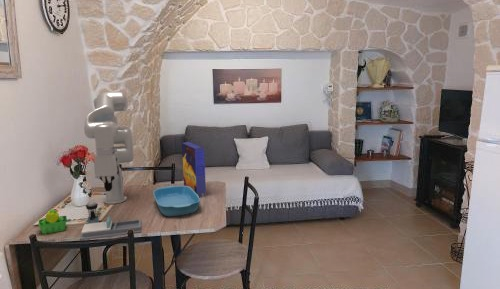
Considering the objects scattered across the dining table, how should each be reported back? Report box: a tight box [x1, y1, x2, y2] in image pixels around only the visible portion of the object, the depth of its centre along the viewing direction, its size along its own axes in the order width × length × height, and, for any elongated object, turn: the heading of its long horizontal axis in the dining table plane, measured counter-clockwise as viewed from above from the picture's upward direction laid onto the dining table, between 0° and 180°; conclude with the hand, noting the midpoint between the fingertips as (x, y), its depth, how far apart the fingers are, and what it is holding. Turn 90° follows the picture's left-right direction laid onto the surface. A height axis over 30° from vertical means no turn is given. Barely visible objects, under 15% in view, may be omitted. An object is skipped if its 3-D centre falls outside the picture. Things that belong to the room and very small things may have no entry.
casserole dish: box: [152, 185, 201, 217], centre depth 192 cm, size 37×22×7 cm, turn 23°
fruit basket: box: [38, 208, 68, 235], centre depth 162 cm, size 11×9×11 cm
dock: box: [79, 218, 142, 241], centre depth 162 cm, size 13×26×2 cm, turn 106°
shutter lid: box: [80, 215, 113, 235], centre depth 160 cm, size 9×12×4 cm
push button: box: [85, 201, 103, 224], centre depth 171 cm, size 7×5×10 cm
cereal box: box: [181, 141, 207, 198], centre depth 214 cm, size 22×6×30 cm, turn 30°
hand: (108, 190), depth 161 cm, fingers closed
